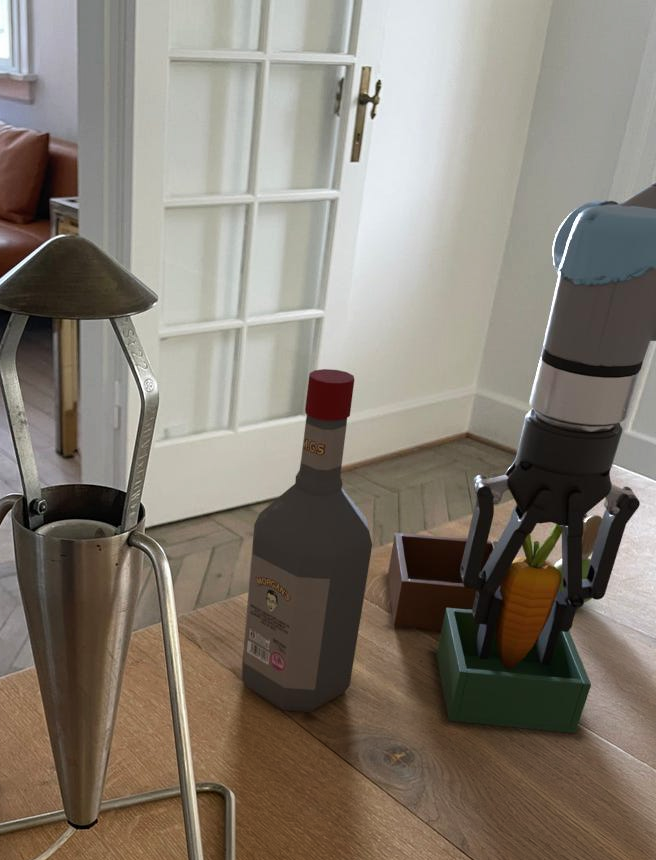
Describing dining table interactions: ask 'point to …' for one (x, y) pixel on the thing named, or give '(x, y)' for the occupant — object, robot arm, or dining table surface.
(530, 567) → the carrot
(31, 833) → the dining table surface
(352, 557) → the liquor
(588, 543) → the snail figurine
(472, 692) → the green bin
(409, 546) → the brown bin
